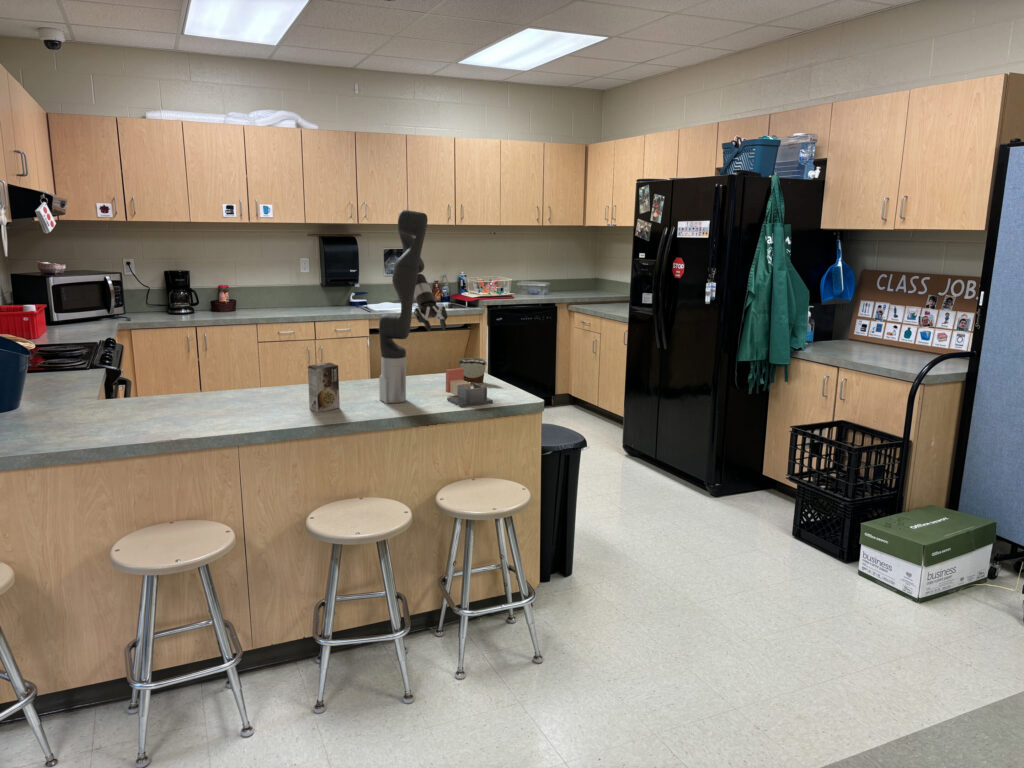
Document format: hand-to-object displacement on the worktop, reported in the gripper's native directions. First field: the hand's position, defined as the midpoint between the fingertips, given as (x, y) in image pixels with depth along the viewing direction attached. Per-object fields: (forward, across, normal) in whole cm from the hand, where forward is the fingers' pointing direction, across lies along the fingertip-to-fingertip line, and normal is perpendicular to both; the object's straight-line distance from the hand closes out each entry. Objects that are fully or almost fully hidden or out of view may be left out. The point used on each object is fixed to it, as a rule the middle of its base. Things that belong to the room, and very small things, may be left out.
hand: (437, 328), depth 290 cm
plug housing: (+37, 0, -2) cm, 37 cm away
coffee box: (+26, -52, +9) cm, 59 cm away
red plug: (+29, 0, +3) cm, 30 cm away
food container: (+16, +19, +19) cm, 31 cm away
